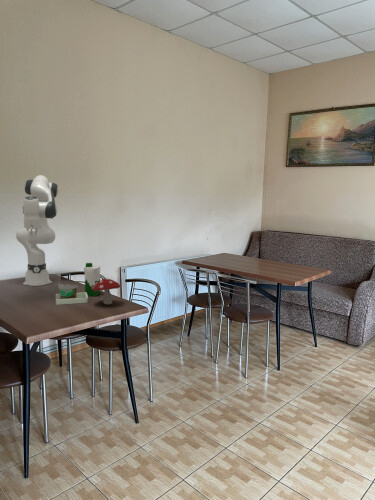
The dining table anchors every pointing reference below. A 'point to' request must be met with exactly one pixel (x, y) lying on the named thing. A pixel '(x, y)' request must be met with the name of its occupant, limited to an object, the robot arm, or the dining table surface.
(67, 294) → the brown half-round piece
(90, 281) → the milk carton
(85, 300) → the pale green u-shaped frame
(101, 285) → the decorative mushroom
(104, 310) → the dining table surface
